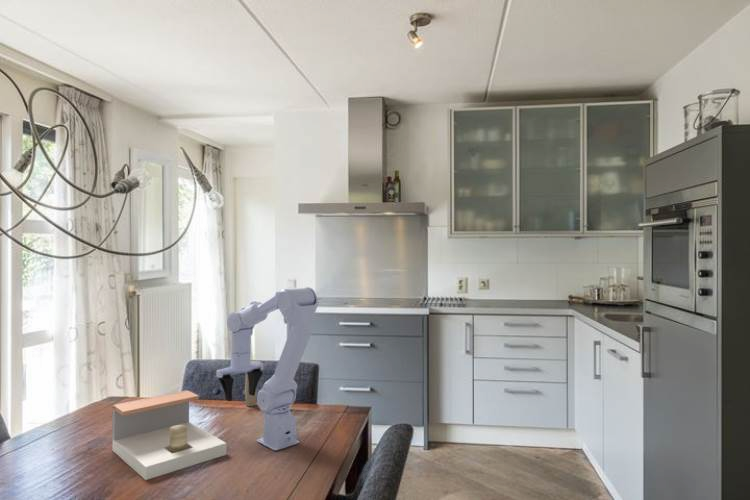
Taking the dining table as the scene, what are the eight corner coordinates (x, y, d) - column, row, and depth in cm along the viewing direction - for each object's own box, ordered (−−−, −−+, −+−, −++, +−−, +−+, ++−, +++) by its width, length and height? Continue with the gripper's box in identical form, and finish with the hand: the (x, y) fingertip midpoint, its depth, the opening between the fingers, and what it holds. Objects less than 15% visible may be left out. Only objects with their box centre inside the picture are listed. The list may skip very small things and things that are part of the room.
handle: (258, 407, 161) (258, 363, 162) (239, 407, 162) (239, 363, 162) (261, 403, 166) (262, 360, 167) (243, 403, 166) (244, 360, 167)
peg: (189, 459, 120) (189, 427, 120) (173, 464, 117) (173, 431, 117) (182, 454, 123) (182, 423, 123) (167, 459, 120) (167, 427, 120)
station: (226, 454, 123) (226, 408, 123) (145, 480, 109) (146, 427, 109) (186, 430, 140) (187, 390, 140) (112, 450, 126) (112, 404, 126)
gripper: (255, 346, 150) (254, 390, 149) (211, 353, 139) (211, 399, 139) (267, 349, 145) (267, 394, 144) (223, 357, 134) (222, 405, 134)
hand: (240, 397), depth 141 cm, fingers open, 7 cm apart
